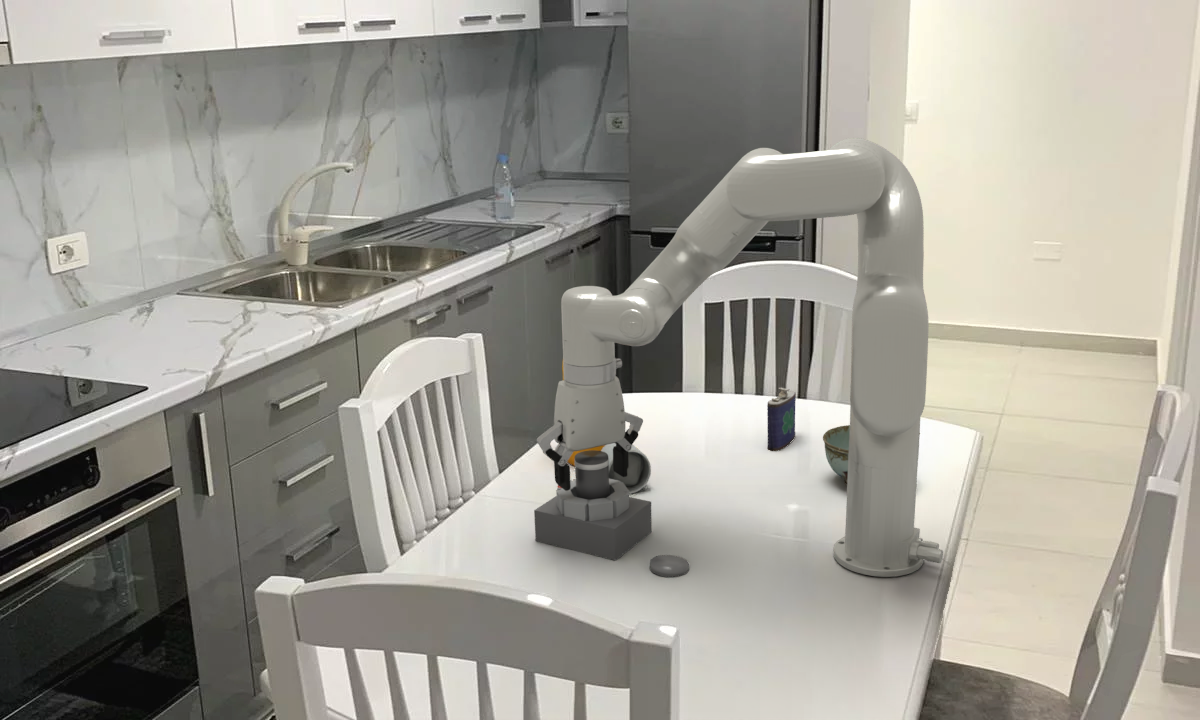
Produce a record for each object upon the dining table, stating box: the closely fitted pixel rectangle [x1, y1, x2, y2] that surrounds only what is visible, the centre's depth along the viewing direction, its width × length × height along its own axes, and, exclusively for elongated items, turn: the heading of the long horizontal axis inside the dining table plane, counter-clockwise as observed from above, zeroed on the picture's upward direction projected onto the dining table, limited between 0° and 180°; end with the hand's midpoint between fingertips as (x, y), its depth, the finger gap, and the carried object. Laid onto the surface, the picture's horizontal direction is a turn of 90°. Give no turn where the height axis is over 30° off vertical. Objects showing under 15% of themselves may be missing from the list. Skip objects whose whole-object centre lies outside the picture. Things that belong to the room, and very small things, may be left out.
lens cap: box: [649, 554, 690, 578], centre depth 164 cm, size 6×6×1 cm
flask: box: [766, 387, 797, 452], centre depth 209 cm, size 9×3×11 cm, turn 147°
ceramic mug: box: [601, 443, 652, 495], centre depth 192 cm, size 11×8×8 cm
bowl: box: [822, 424, 850, 486], centre depth 191 cm, size 14×13×8 cm
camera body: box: [533, 478, 653, 561], centre depth 174 cm, size 14×11×8 cm
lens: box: [574, 450, 610, 500], centre depth 172 cm, size 5×5×8 cm
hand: (592, 480), depth 172 cm, fingers open, 9 cm apart
